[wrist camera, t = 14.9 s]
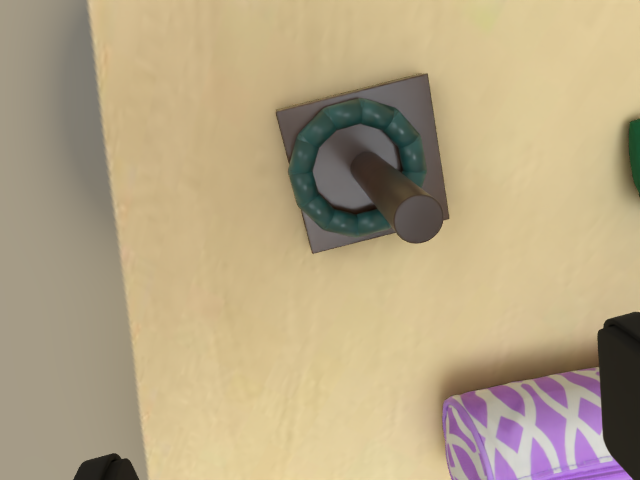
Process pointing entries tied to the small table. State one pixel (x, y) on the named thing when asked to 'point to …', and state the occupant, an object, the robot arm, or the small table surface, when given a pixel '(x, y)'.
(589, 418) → the pencil case
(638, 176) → the green toy car
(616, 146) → the small table surface
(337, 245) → the stand
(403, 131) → the ring
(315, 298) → the small table surface
